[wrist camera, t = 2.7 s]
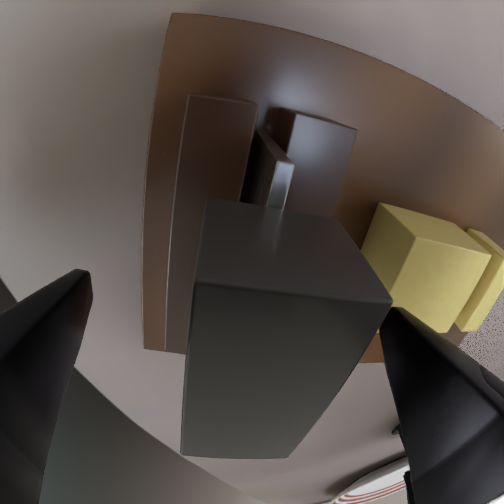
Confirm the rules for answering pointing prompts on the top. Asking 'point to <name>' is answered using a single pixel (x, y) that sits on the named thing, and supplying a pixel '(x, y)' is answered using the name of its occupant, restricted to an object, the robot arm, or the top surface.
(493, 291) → the butter slice
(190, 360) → the dark grey block
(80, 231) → the top surface
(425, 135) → the cutting board
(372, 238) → the butter stick
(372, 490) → the dinner plate
